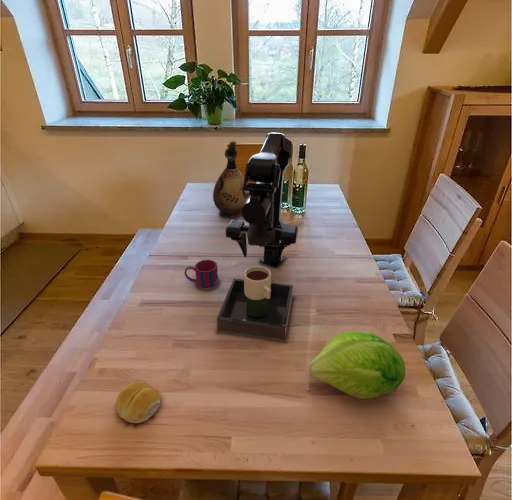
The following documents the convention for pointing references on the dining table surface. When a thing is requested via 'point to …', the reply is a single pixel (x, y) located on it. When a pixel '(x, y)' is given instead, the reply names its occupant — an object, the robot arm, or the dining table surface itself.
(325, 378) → the lettuce
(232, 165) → the ceramic jug
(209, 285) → the cup
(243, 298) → the tray
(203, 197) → the dining table surface
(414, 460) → the dining table surface
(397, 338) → the dining table surface
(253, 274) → the coffee mug
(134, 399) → the bread roll
